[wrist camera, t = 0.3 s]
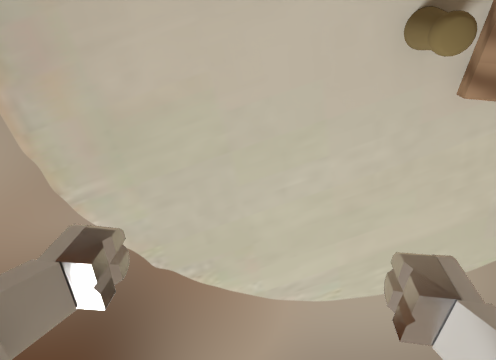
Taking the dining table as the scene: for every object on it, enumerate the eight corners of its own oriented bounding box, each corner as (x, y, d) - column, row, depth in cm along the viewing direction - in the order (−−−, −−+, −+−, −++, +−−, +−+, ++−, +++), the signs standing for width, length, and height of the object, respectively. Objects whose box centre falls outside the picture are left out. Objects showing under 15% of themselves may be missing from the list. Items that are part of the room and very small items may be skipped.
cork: (402, 11, 46) (432, 14, 37) (447, 0, 45) (489, 0, 36) (402, 54, 49) (430, 66, 40) (444, 45, 48) (483, 56, 39)
